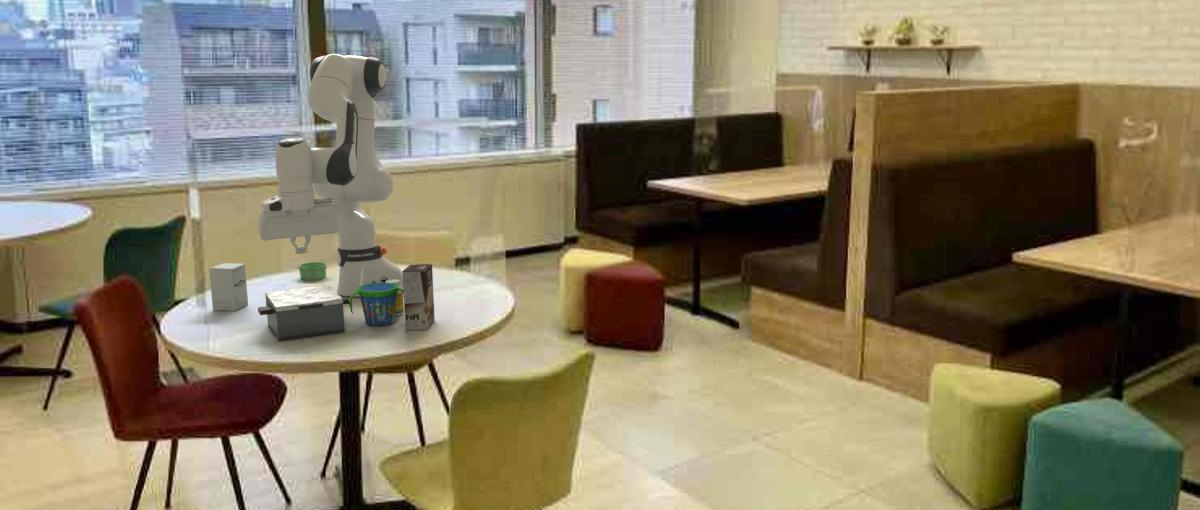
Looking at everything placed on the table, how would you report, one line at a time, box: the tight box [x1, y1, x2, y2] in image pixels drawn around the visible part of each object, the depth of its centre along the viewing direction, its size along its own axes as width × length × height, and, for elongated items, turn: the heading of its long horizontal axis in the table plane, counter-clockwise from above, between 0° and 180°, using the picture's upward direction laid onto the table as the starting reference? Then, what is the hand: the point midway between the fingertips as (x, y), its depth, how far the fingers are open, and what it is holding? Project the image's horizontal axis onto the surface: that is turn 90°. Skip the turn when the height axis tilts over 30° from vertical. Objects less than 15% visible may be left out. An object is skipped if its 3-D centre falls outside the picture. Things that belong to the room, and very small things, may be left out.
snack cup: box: [348, 283, 403, 327], centre depth 267 cm, size 16×10×10 cm
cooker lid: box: [264, 284, 343, 312], centre depth 260 cm, size 17×19×1 cm
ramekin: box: [298, 261, 328, 281], centre depth 322 cm, size 9×9×4 cm
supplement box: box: [208, 262, 249, 312], centre depth 285 cm, size 7×7×13 cm
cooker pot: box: [257, 296, 350, 342], centre depth 262 cm, size 23×17×8 cm
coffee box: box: [401, 263, 436, 331], centre depth 263 cm, size 9×6×16 cm
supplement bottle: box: [385, 279, 405, 317], centre depth 276 cm, size 5×5×10 cm
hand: (301, 253), depth 256 cm, fingers closed
